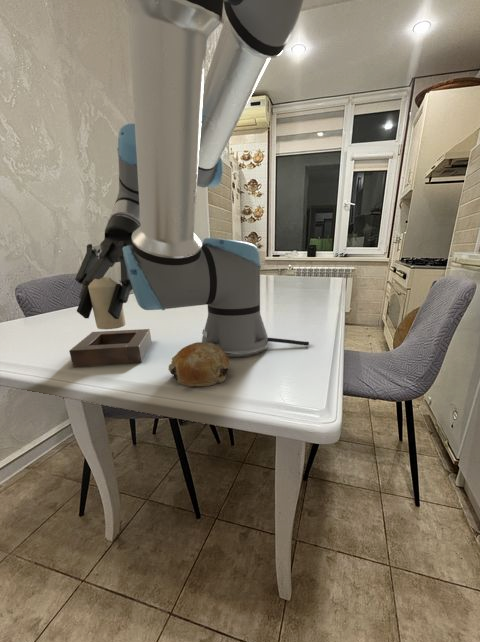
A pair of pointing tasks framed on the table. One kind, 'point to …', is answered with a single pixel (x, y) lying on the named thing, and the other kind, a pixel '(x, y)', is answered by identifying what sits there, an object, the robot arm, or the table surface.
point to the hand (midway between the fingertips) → (98, 314)
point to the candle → (104, 303)
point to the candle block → (111, 348)
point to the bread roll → (199, 365)
